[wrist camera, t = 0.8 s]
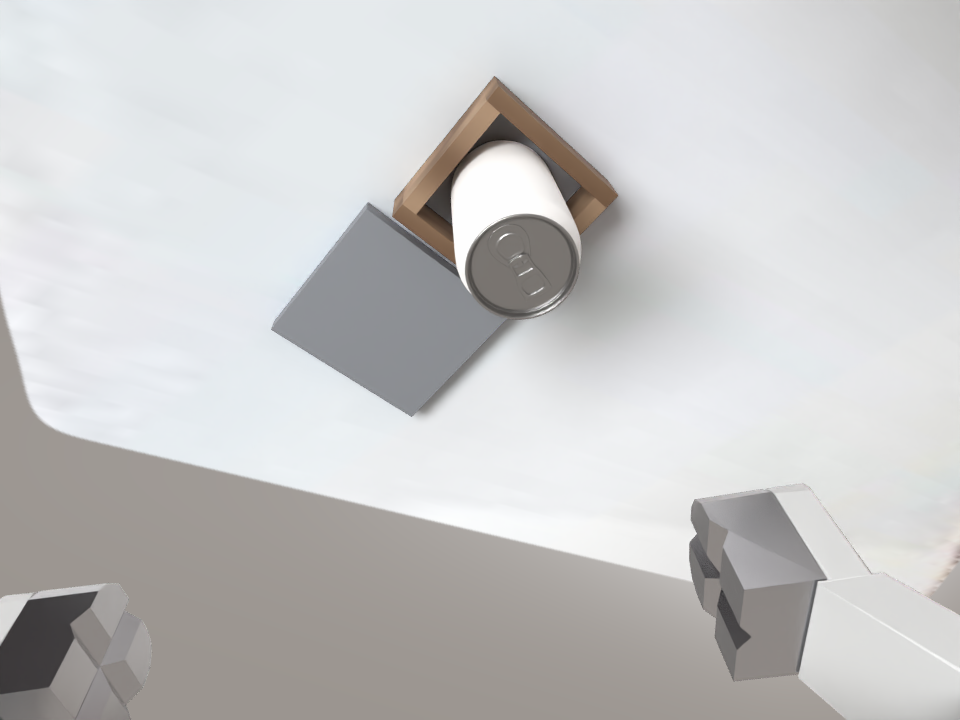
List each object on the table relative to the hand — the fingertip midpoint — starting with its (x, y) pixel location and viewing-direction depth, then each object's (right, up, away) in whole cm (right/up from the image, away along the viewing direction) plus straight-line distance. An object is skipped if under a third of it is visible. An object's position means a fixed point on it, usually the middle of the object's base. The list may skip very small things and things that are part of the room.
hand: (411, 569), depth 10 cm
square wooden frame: (+2, +14, +33) cm, 36 cm away
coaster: (-5, +6, +38) cm, 39 cm away
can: (+2, +14, +34) cm, 36 cm away
